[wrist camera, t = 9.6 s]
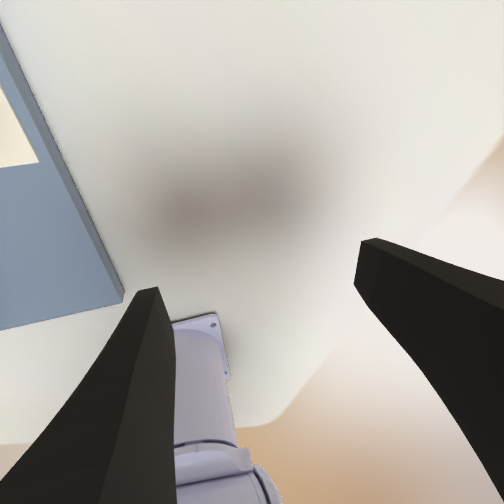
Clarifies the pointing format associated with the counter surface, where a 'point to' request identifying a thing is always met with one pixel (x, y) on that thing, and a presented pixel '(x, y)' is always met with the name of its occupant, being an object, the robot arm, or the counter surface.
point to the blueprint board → (42, 218)
